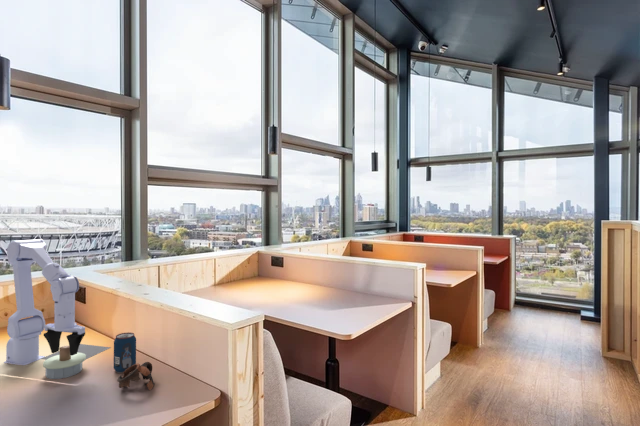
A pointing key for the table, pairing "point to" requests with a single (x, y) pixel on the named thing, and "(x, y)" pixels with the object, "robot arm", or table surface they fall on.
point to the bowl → (63, 372)
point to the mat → (85, 350)
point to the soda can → (124, 351)
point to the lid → (64, 359)
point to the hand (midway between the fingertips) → (64, 353)
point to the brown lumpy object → (137, 375)
